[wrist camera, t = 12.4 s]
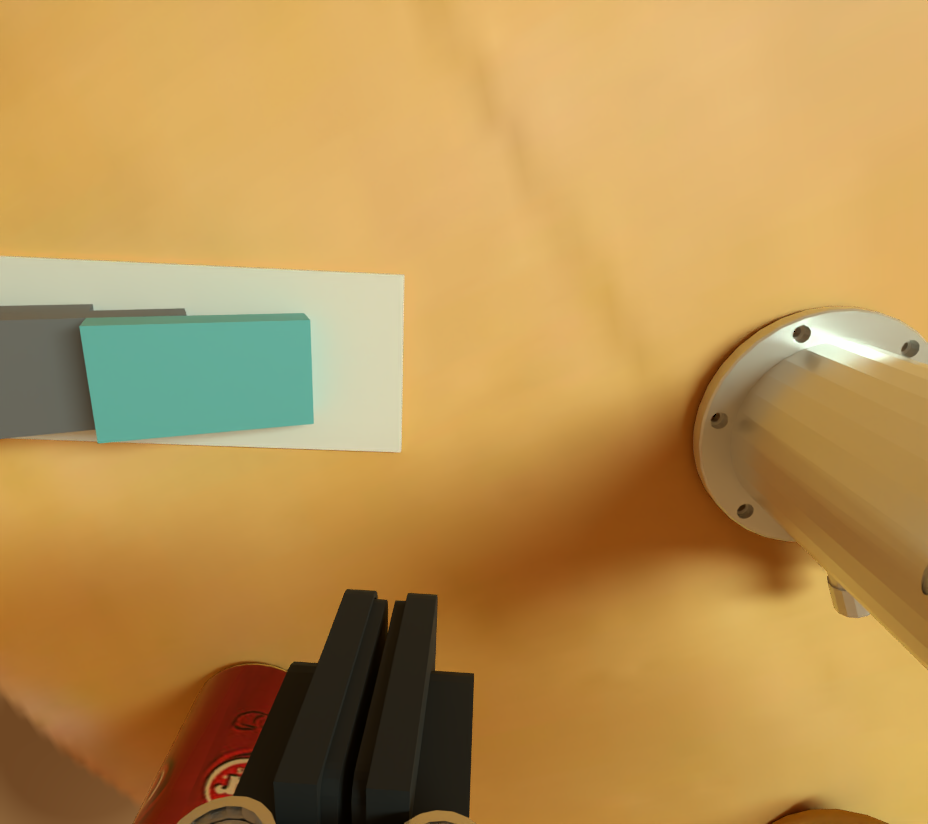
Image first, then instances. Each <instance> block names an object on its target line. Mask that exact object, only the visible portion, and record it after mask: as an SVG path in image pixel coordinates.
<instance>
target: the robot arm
mask: <svg viewBox="0 0 928 824" xmlns="http://www.w3.org/2000/svg"><path fill="white" fill-rule="evenodd" d="M795 328H796V332H795V333H794V334H793V332H794V330H795ZM714 414H716V416H715V417H714V418H713V419H711V418H712V416H713V415H714ZM693 452H694V457H695V463H696V468H697V472H698V474H699V476H700V479H701V481H702V483H703V485H704V488H705V489H706V491H707V492H708V493H709V495H710V496H711V498H712V499H713V500H714V502H715V503H716V504H717V505H718V506H719V507H720V508H721V509H722V510H723V511H724V513H725V514H726V515H727V516H728V517H729V518H730V519H732V520H733V521H735V522H736V523H738V524H739V525H741V526H742V527H743V528H745V529H747V530H749V531H751V532H754V533H756V534H759V535H761V536H763V537H767V538H772V539H776V540H781V541H792V542H797V543H798V544H799V545H801V546H802V547H803V548H804V549H805V550H806V551H807V552H808V553H809V554H810V555H811V556H812V557H813V558H814V559H815V560H816V561H817V563H818V564H819V565H820V566H821V567H823V568H824V569H825V570H826V571H827V574H828V576H827V580H828V586H829V590H830V594H831V598H832V602H833V606H834V608H835V610H836V611H837V612H838V613H839V614H842V615H844V616H847V617H853V618H860V617H864V616H868V615H869V614H871V615H872V616H873V617H874V618H875V619H876V620H877V621H878V622H879V623H880V624H881V625H882V626H883V627H884V628H885V629H886V630H887V631H888V632H889V633H890V634H891V635H892V636H894V637H895V638H896V639H897V640H898V641H899V642H900V643H901V644H902V645H903V646H904V647H905V648H906V649H907V650H908V651H909V652H910V653H911V654H912V655H913V656H914V657H915V658H916V659H917V660H918V661H919V662H920V663H921V664H922V665H923V666H924V667H925V668H926V669H927V670H928V342H927V341H926V340H925V339H924V338H923V337H922V336H921V335H920V334H919V333H918V332H917V331H916V330H914V329H913V328H911V327H910V326H908V325H907V324H905V323H904V322H902V321H900V320H899V319H896V318H893V317H890V316H888V315H885V314H882V313H880V312H876V311H872V310H867V309H863V308H858V307H846V306H828V307H821V308H815V309H808V310H804V311H801V312H798V313H795V314H792V315H790V316H787V317H784V318H781V319H779V320H778V321H776V322H774V323H772V324H770V325H768V326H766V327H765V328H763V329H761V330H759V331H758V332H757V333H755V334H754V335H753V336H751V337H750V338H749V339H748V340H746V341H745V342H744V343H742V344H741V345H740V346H739V347H738V348H737V349H736V350H735V351H734V352H733V353H732V354H731V355H730V356H729V357H728V358H727V360H726V361H725V362H724V363H723V364H722V365H721V366H720V368H719V369H718V371H717V372H716V374H715V376H714V377H713V379H712V380H711V382H710V383H709V385H708V387H707V389H706V391H705V393H704V396H703V398H702V400H701V403H700V405H699V408H698V412H697V417H696V421H695V425H694V436H693ZM437 600H438V599H437V595H431V594H415V593H408V595H407V599H406V601H395V605H394V609H393V613H392V617H391V622H390V626H389V630H388V602H387V600H381V599H378V596H377V592H376V591H367V590H351V589H347V590H346V591H345V593H344V596H343V598H342V601H341V604H340V606H339V609H338V612H337V614H336V617H335V620H334V622H333V625H332V628H331V630H330V633H329V636H328V638H327V641H326V644H325V646H324V649H323V651H322V654H321V657H320V659H319V662H318V663H306V662H293V663H292V664H291V665H290V667H289V669H288V671H287V673H286V675H285V678H284V680H283V682H282V684H281V687H280V689H279V691H278V694H277V696H276V698H275V700H274V703H273V705H272V707H271V710H270V712H269V714H268V716H267V719H266V721H265V723H264V726H263V728H262V730H261V732H260V735H259V737H258V739H257V742H256V744H255V746H254V748H253V751H252V753H251V755H250V758H249V760H248V762H247V764H246V767H245V769H244V771H243V774H242V776H241V778H240V780H239V783H238V785H237V787H236V789H235V792H234V794H233V796H228V797H223V798H218V799H214V800H212V801H209V802H207V803H205V804H203V805H201V806H199V807H196V808H195V809H194V810H192V811H191V812H190V813H189V814H187V815H186V816H185V817H183V818H182V819H181V820H180V821H179V822H178V823H177V824H476V823H474V822H473V821H472V820H471V819H469V805H470V776H471V747H472V718H473V688H474V674H473V673H458V672H443V671H435V655H436V629H437Z"/></svg>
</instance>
